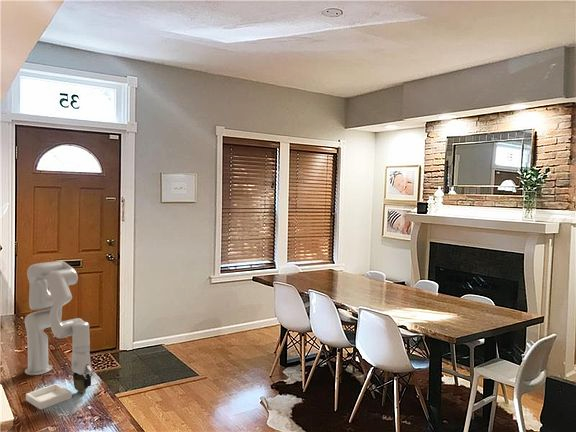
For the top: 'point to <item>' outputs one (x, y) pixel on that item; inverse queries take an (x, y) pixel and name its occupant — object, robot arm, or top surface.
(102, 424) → the top surface
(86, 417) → the top surface
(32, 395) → the tray
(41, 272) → the robot arm
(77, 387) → the ornate bronze bell
